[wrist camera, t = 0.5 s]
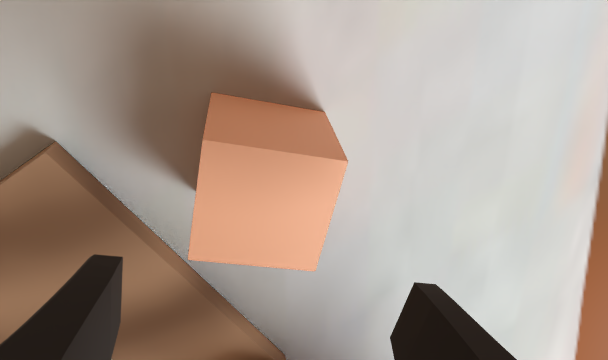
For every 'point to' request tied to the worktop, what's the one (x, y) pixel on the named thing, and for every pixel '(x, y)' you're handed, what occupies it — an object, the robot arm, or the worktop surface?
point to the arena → (113, 242)
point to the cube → (265, 184)
